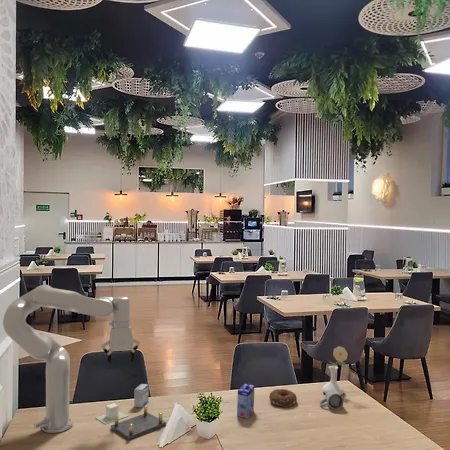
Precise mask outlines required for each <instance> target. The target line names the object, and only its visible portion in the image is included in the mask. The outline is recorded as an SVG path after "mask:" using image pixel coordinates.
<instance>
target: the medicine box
mask: <svg viewBox="0 0 450 450" xmlns="http://www.w3.org/2000/svg"><path fill="white" fill-rule="evenodd" d="M133 396H134V397H133V400H134V401H133V404H134V405H133V406H134V408H142V409H144V405H147V403H149V384H147V383H140V384H139V385H138V386H137V387H136V388H134V391H133Z"/></svg>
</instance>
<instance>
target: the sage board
mask: <svg viewBox="0 0 450 450" xmlns="http://www.w3.org/2000/svg"><path fill="white" fill-rule="evenodd" d="M115 415H119V420H123V419H126V418H128V416H129V414H126V413H125V412H123V411H121V410H119V405H118V404H117V403H114V402H113V403H110V404H108V405H105V414H102V415H99V416H95V417H94V419H96V420H98V422H100V423H102V424H103V425H104V426H105V425H108V424H111V423H113V422H114V423H115Z"/></svg>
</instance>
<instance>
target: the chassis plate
mask: <svg viewBox="0 0 450 450" xmlns="http://www.w3.org/2000/svg"><path fill="white" fill-rule="evenodd" d="M166 426H167V422H166V421H165V420H163V413H162V412H159V413H158V417H157V416H155V415H153V414H152V413H150V412H148V405H147V404H145V405H144V407H143V413H142V414H139V415H137V416H134V417H131V418H129V419H125V420H123V421H120V422H119V415H115V421H114V424H112V425H110V430H111V431H114V432H115V433H117V434H118V435H120V436H121V437H123V439H126V440H128V441H132V440H133V439H136V438H138V437H141V436H143V435H146V434H149V433H151V432H153V431H156V430H159V429H161V428H164V427H166Z"/></svg>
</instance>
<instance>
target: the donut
mask: <svg viewBox="0 0 450 450" xmlns="http://www.w3.org/2000/svg"><path fill="white" fill-rule="evenodd" d="M268 398H269V400H270V402H271V403H272V404H274V405H275V406H278V407H291V406H293V405H294V404H296V403H297V401H298V400H297V399H298V398H297V394H296V393H294V392H293V391H291V390H290V389H284V388H280V389H273V390H272V391H271V392H269V397H268Z"/></svg>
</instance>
